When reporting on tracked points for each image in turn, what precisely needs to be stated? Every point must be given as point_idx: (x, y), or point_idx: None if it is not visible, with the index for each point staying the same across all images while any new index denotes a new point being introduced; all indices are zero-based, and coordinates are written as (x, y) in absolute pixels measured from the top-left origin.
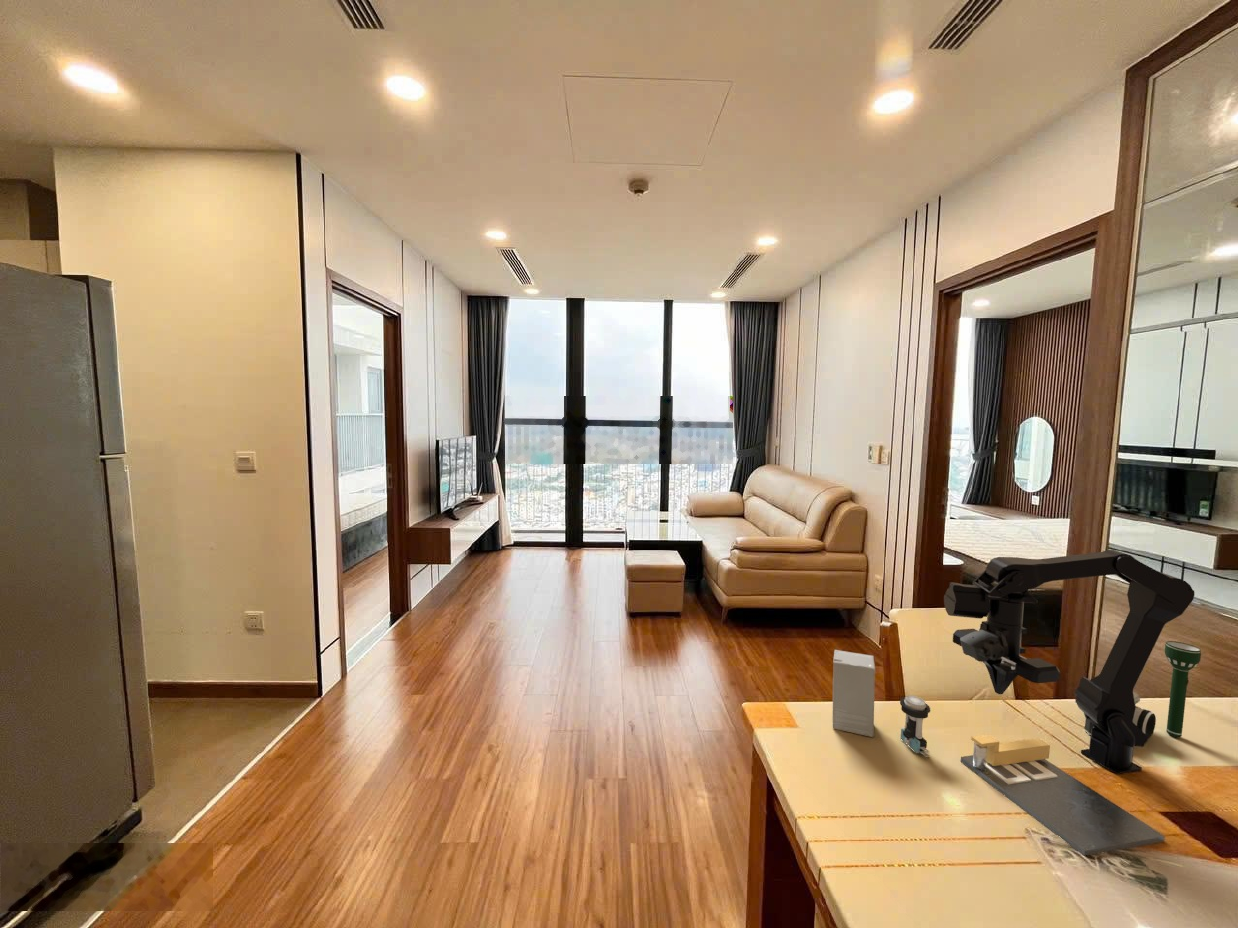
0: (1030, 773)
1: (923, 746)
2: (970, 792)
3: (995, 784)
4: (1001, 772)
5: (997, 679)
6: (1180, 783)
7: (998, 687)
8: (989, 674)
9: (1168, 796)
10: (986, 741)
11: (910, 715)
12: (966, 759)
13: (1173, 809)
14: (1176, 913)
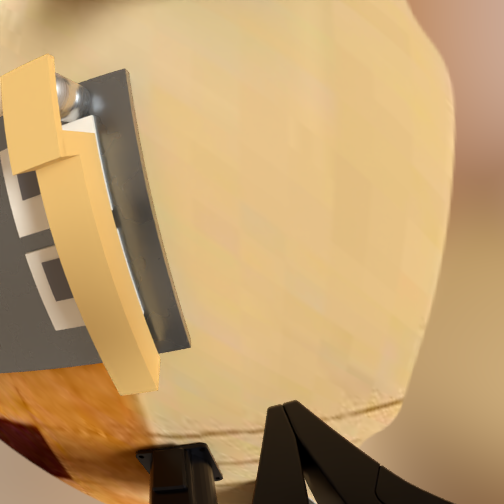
0: (46, 258)
1: None
2: (9, 37)
3: None
4: None
5: (296, 496)
6: (136, 495)
7: (273, 444)
8: (384, 471)
9: (90, 466)
10: (11, 108)
11: None
12: (109, 79)
13: (54, 448)
14: None
